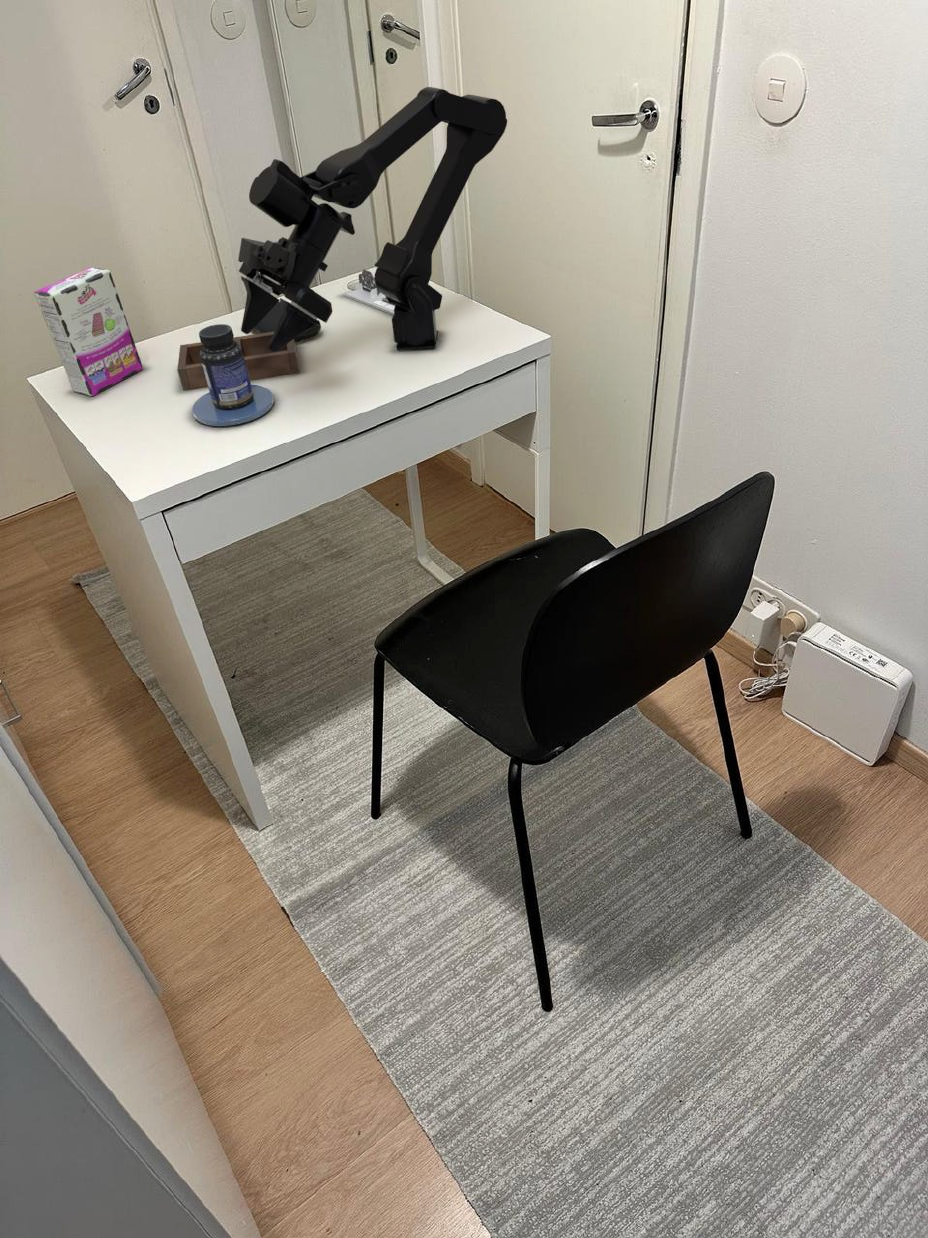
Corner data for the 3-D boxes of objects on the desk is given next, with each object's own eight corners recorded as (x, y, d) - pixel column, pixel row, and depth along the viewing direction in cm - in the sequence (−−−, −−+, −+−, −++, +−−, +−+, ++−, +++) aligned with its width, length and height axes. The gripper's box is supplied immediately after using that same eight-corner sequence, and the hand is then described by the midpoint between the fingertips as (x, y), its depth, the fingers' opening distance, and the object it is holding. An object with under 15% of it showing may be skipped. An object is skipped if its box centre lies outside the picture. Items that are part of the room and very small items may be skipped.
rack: (296, 348, 151) (292, 328, 148) (299, 372, 143) (295, 351, 141) (185, 365, 149) (180, 344, 147) (183, 390, 141) (177, 369, 139)
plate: (282, 389, 139) (280, 382, 138) (263, 426, 130) (262, 419, 129) (207, 391, 140) (205, 385, 140) (183, 429, 131) (181, 422, 131)
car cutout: (344, 296, 168) (341, 271, 165) (373, 285, 171) (369, 261, 168) (394, 315, 159) (390, 289, 156) (422, 303, 162) (420, 278, 159)
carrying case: (332, 334, 154) (295, 310, 164) (329, 317, 152) (292, 294, 162) (275, 352, 150) (241, 326, 160) (272, 334, 148) (237, 310, 158)
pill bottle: (262, 395, 135) (245, 324, 128) (237, 413, 131) (218, 341, 124) (230, 389, 138) (212, 319, 131) (204, 407, 134) (184, 335, 127)
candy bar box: (124, 364, 151) (90, 265, 140) (144, 369, 149) (112, 269, 138) (70, 392, 144) (31, 290, 133) (91, 397, 142) (53, 294, 131)
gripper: (235, 200, 130) (185, 297, 132) (296, 226, 117) (240, 333, 120) (294, 242, 138) (246, 333, 140) (357, 271, 126) (303, 370, 128)
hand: (257, 341), depth 132 cm, fingers open, 9 cm apart
